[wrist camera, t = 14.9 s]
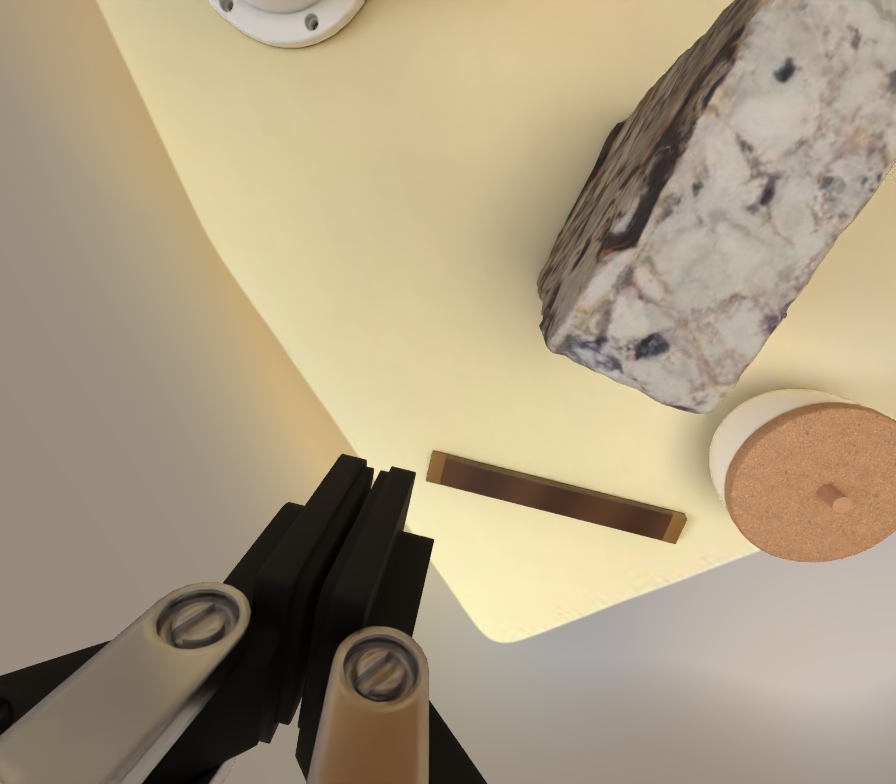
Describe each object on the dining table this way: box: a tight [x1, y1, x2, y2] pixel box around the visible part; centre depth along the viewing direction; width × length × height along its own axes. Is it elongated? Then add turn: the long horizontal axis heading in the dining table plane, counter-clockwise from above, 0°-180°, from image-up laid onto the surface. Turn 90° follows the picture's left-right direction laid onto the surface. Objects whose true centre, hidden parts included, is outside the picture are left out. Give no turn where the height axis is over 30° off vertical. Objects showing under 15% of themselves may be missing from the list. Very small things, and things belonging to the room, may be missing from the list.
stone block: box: [537, 0, 896, 414], centre depth 24 cm, size 13×7×20 cm, turn 160°
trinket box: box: [709, 389, 896, 562], centre depth 32 cm, size 11×11×9 cm
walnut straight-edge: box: [426, 451, 687, 544], centre depth 40 cm, size 21×2×1 cm, turn 78°
